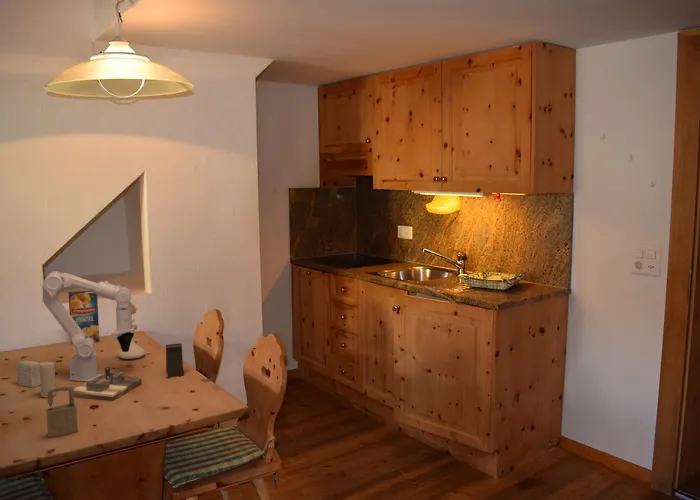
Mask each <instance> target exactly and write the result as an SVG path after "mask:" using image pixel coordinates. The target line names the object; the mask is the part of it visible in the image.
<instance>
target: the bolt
mask: <svg viewBox="0 0 700 500" xmlns="http://www.w3.org/2000/svg"><path fill="white" fill-rule="evenodd" d="M110 371H111V367H110V366H105V367H104V374H105V378H103V379H101V380H99V381H97V382H95V383H100V382H102V381H104V380H109V384H110V383H111V382H112V377H111V375H110Z"/></svg>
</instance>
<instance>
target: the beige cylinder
mask: <svg viewBox="0 0 700 500" xmlns="http://www.w3.org/2000/svg"><path fill="white" fill-rule="evenodd" d="M40 363H41V364H40V382H41V385H40V395H41V397H42V398H45V399H46V398H47V393H48V390H49V389H50V388H53V387H57V386H56V371H55V369H56V367H55V362H54V361H45V362H40ZM56 394H57V391H56V392H53V393H52V395H53V397H55V396H56ZM47 399H48V398H47Z"/></svg>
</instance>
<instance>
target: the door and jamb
mask: <svg viewBox="0 0 700 500" xmlns="http://www.w3.org/2000/svg"><path fill="white" fill-rule="evenodd" d="M110 375H111V377H112V382H111V383H110V384H109V380H104V381H102V382H100V383H95V382H97V381H99V380H101V379H103V378H105V373H104V374H102V375H101V376H99V377H97V378H95V379H93V380H91V381H89V382H85V383H83V384H82V385H80V386H77V387H75V388H73V389H74V398H78V399H87V400H97V401H107V402H113V401H115V400H117V399H118V398H120V397H122V396H124V395H126V394H127V393H129V392H131V391H132V390H134V389H136V388H138V387H139V386H141V385H142V378H141V377H130V376H125V372H124V371H120V372H118V373H116V374H115V371H114V370H113V371H112V370H110Z"/></svg>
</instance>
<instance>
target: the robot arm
mask: <svg viewBox="0 0 700 500" xmlns="http://www.w3.org/2000/svg"><path fill="white" fill-rule="evenodd" d="M41 286H42V287H41V289H42V303H43V304H44V306H46V308H47V309H48V311H49V312H50V313H51V314H52V316H53V317H54V319H55V320H56V322H57V323H58V324H59V325H60V326H61V328H62V329H63V330H64V332H65V333H66V335H68V337H69V338H70V341H71V340H72V342H73V345H72V346H73V347H74V348H75V352H76V354H75V355H73V356H71V358H70V360H69V377H70V378H69V377H68V381H75V382H76V381H77V382H85V383H87V382H89V381H91V380H93V379H95V378H97V377H99V376H101V375H103V374H101V373H98V366H97V365H98V363H97V361H98V360H97V353H96V352H95V348H96V342H95V341H94V339H93V338H91V337H89V336H87V334H86V333H85V332H83V331H82V330H81V328H80V327H79V326H78V324H77V323H76V322H75V320H74V319H73V318H72V316H71V315H70V311H68V310H67V309H66V307H65V306H64V305H63V303H62V302H61V300H60V299H59V293H60V290H61V288H62V286H63V288H69V287H78V288H81V289H85V290H91V291H94V292H95V293H96V295H97V297H101V298H105V299H109V300H110V301H115V302H116V306H115V316H116V319H115V320H116V329H115V330H114V331H113V332H112V333H111V334H110V335H111V336H110V337H111V339H116V340H117V341H118V343H119V345H120V348H121V350H122V352H128V351H129V348H130V343H131V340H132V338H133V336H134V337H135V332H136V330H138V324H133V322H132V320H133V317H132V315H133V314H132V310H131V303H132V301H131V300H132V292H131V290H130V289H129V288H128V287H126V286H121V285H119V284H118V285H115V284H111V283H109V281H108V280H105V281H100V282H95V281H91V280H88V279H85V278H82V277H79V276H76V275H74V274H71V273H67V272H60V271H57V270H55V271H54V270H53V271H51V272H49V273H48V275H47V276H46V277H45V279H44V280H43V283H42V285H41ZM133 331H134V333H131V332H133ZM72 342H71V343H72Z"/></svg>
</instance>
